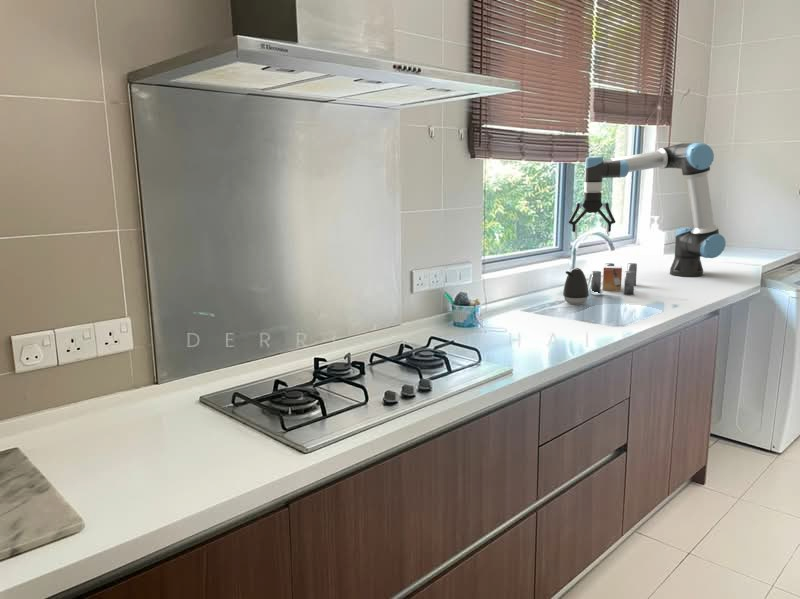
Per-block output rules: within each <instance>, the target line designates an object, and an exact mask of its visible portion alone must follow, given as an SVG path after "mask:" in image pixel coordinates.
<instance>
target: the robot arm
mask: <svg viewBox="0 0 800 599" xmlns="http://www.w3.org/2000/svg"><path fill="white" fill-rule="evenodd" d="M714 157H715V154H714V151H713V148H712V147H711V146H710V145H708V144H707V143H703V142H698V141H697V142H685V143H684V142H683V143H678V144H673V145H669V146H666V147H660V148H658V149H657V150H656V151H650V152H643V153H637V154H631V155H626V156H625V155H624V156H619V157H613V158H606V159H604V157H603V156H587V157H586V158H585V161H584V189H583V191H584V193H583V203H580V202H576V203H575V205H576V206H575V209H574V211H573V212H572V215H571V216H570V218H569V220H568V224H570V225H572V226H571V228H572V229H571V230H572V233H574V240H576V239H578V225H577V223H578V222H579V221H580V220H581V219H582V218H583V217H584V216H585V215H586V214H587V213H588V214H592V213H593V214H597V213H598V214H599V215H600V217H602V219H604V221H605V222H606V224H605V233H606V232H607V234H608V235H609V233H610V232H611V231H612V225H614V224H616V219H615V218H614V215H613V213H612V211H611V209H610V205H609V202H602V198H603V197H602V196H603V195H602V194H603V192H602V190H603V179H607V178H609V179H610V178H611V179H612V178H615V179H617V178H619V179H620V178H625V177H627V176H628V174H629V173H632V172H639V171H645V170H650V169H656V168H658V169H660V170H663V169H680V170H681V173H682V174H681V175H682V176H683V177H685V178H686V182H687V190H688V196H689V203H690V209H691V216H692V223H693V227H687V228H686V227H683V228H678V229H677V230H676V232H675V237H674V238H675V244H674V258H673V262H672V264H671V267H670V268H669V274H670V273H671V274H670V275H672V276H677V277H687V278H689V277H690V278H691V277H693V278H694V277H700V276H703V275H704V268H703V265H702V264H703V263H702V260H701V257H702V258H703V259H704V258H705V259H715V258H717V257H719V256H720V255H721V254H722V253H723V251H725V248H726V244H727V243H726V239H725V237H724V236H723V235H722V234H720V231H719V227H718V226H717V225H716V224H715V221H714V214H713V207H712V200H711V193H710V186H709V179H708V178H709V177H708V173H709V172H710V171H711V167H710V166H712V165H713V162H714V159H715V158H714ZM582 207H583V209H582V212H580V214H579V215H578V216H577V214H578V212H579V210H580V209H581V208H582ZM602 207H603V208H605V210H606V212H607V214H608V217H609V218H610V219H608V217H607V216H606V215H605V214H604V212H603V211H602V210H601V208H602ZM576 216H577V217H576ZM575 217H576V218H575Z"/></svg>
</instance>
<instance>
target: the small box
mask: <svg viewBox="0 0 800 599" xmlns="http://www.w3.org/2000/svg"><path fill="white" fill-rule="evenodd" d="M602 269H603V270H602V291H617V292H618V291H619V292H620V291H622V279H623V278H622V276H623V275H622V273H623V266H622V265H618V266H617V265H614V266H605V265H603V268H602Z"/></svg>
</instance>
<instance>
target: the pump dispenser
mask: <svg viewBox="0 0 800 599" xmlns="http://www.w3.org/2000/svg"><path fill="white" fill-rule="evenodd" d="M565 274H566V275H567V276H566V279H565V282H564V285H563V286H564V287H563V294H562V295H563V298H564V300H565V302H566V303H567V304H568V305H570V306H581V305H583V304H585V303H586V302H587V300H588V298H589V295H590V294H589V286H588V282H587V281H588V280H587V278H586V274H585V273H584V272H583V270H582V269H581V268H579V267H573V268H571V269H570V271H568V270H566V271H565Z"/></svg>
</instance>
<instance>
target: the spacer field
mask: <svg viewBox="0 0 800 599" xmlns="http://www.w3.org/2000/svg"><path fill="white" fill-rule="evenodd" d="M604 266H615V263H613V262H612V263H611V262H610V263H605V264H604ZM637 268H638V264H637V263H635V262H631V263H628V262H627V270H625V271H624V286H623V287H624V288H623V291H624V292H623V294H624V295H625V296H634V294H635V292H634V291H635V286H637V274H638V273H637V272H638V269H637ZM591 275H593V277H592V280H591V281H590V283H591V284H590V290H591V289H592V291H594V292H598V293H600V294H601V290H602V289H601V288H602V286H601V285H602V282H601V280H602V271H600V270H593V271H591Z"/></svg>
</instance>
